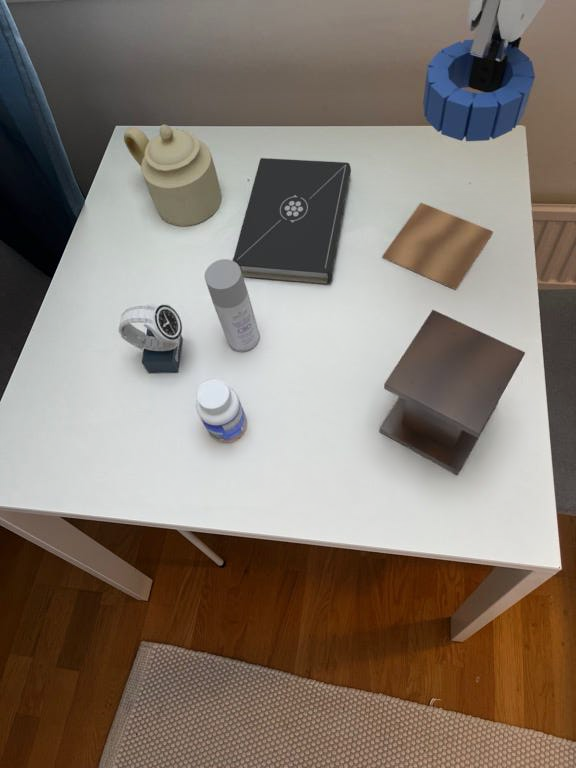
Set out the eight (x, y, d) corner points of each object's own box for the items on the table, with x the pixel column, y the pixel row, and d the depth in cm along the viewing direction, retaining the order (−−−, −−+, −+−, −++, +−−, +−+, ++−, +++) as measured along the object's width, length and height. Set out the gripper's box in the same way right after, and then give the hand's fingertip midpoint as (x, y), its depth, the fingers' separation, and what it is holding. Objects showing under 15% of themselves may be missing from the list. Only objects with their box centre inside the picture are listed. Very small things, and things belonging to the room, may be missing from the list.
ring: (538, 91, 60) (550, 54, 57) (498, 153, 57) (508, 119, 53) (449, 65, 63) (455, 28, 60) (406, 122, 60) (410, 88, 56)
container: (247, 357, 81) (227, 295, 68) (221, 343, 83) (195, 280, 69) (266, 332, 83) (249, 267, 70) (239, 319, 84) (218, 252, 71)
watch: (192, 372, 81) (170, 331, 71) (136, 373, 82) (107, 332, 72) (196, 337, 84) (175, 293, 74) (142, 339, 85) (114, 295, 75)
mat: (492, 233, 87) (493, 231, 86) (455, 290, 83) (456, 288, 82) (420, 204, 90) (420, 202, 90) (382, 257, 87) (382, 256, 86)
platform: (496, 405, 74) (525, 352, 62) (457, 475, 71) (479, 434, 58) (419, 367, 78) (432, 309, 66) (378, 431, 75) (384, 383, 62)
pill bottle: (199, 425, 77) (180, 394, 69) (229, 398, 79) (214, 364, 70) (226, 451, 75) (209, 423, 67) (256, 423, 77) (243, 392, 68)
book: (331, 285, 85) (331, 272, 83) (235, 276, 88) (231, 264, 85) (351, 176, 94) (351, 162, 92) (262, 171, 97) (260, 157, 94)
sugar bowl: (127, 224, 95) (90, 151, 81) (144, 174, 100) (112, 97, 86) (215, 228, 92) (191, 153, 79) (228, 177, 97) (208, 98, 84)
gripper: (546, -73, 41) (490, 141, 57) (626, -179, 46) (554, 45, 62) (448, -93, 43) (421, 118, 59) (534, -191, 48) (488, 27, 65)
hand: (490, 79), depth 61 cm, fingers closed on ring, 2 cm apart
